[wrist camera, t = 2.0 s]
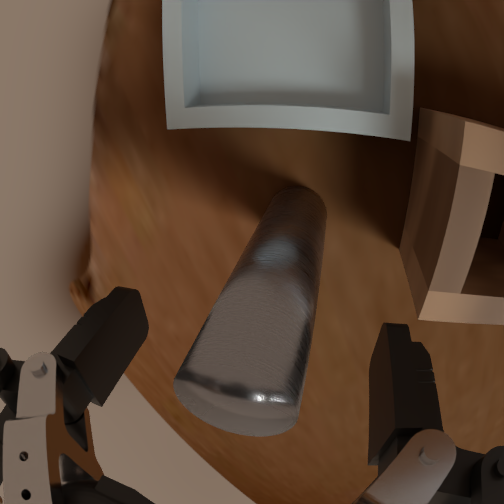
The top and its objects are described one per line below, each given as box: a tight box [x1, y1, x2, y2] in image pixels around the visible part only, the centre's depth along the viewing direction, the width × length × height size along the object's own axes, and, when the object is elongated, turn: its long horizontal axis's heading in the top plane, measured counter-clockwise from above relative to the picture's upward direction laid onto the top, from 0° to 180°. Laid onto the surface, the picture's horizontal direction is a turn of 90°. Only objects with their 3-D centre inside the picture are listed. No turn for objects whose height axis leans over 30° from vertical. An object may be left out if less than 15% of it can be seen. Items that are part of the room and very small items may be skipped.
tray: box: [162, 0, 414, 141], centre depth 11 cm, size 11×11×2 cm
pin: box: [173, 186, 327, 436], centre depth 12 cm, size 3×3×12 cm
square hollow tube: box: [399, 108, 504, 325], centre depth 11 cm, size 8×8×6 cm
